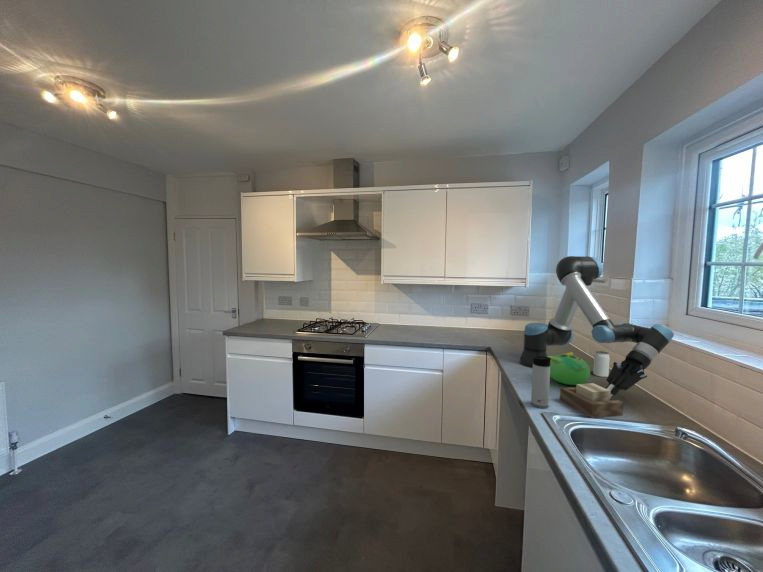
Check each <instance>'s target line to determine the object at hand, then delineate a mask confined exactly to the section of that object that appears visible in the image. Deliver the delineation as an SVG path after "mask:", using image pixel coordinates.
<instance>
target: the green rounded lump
mask: <svg viewBox="0 0 763 572" xmlns="http://www.w3.org/2000/svg"><path fill="white" fill-rule="evenodd" d="M547 357H549V358H551V360H550V378H552V379H553V380H554V381H556V382H558V383H559V384H563V385H567V386H576V384H585V383H586V382H587V381H588V380H589V378H590V376H591V367H590V366H589V364H588V363H587V362H586V361H585V360H583V359H582V358H581V357H579V356H576V355H574V352H571V351H570V352H566V353H559V354H554V355H547Z"/></svg>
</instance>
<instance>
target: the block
mask: <svg viewBox="0 0 763 572" xmlns="http://www.w3.org/2000/svg"><path fill="white" fill-rule="evenodd" d="M575 387H576V394H578V395H580V396H582V397H584V398H586V399H588V400H590V401H591V402H601V401H611V398H610V395H611V391H610V390H608V389H605V388H606V387H602V386H600V385H599V384H596V383H592V382H591V383H582V384H576V385H575Z"/></svg>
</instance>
